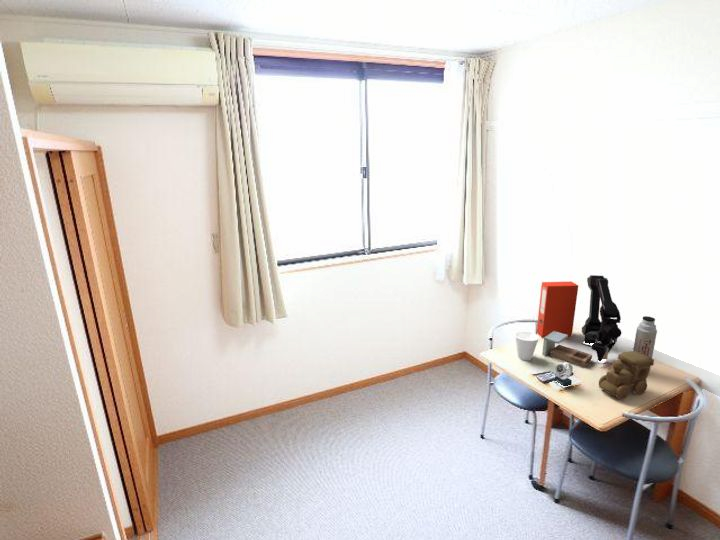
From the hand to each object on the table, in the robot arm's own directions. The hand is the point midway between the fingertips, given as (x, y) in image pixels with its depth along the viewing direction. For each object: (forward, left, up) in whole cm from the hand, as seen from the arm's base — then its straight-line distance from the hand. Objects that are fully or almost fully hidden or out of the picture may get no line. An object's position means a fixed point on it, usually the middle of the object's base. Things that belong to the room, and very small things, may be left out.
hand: (602, 357), depth 213 cm
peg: (0, 0, -2) cm, 2 cm away
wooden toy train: (+23, +16, -2) cm, 28 cm away
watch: (+36, -5, -2) cm, 36 cm away
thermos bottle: (-3, +16, -2) cm, 16 cm away
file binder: (-15, -31, -2) cm, 35 cm away
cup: (+23, -30, -2) cm, 38 cm away
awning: (+8, -21, -2) cm, 23 cm away
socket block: (+8, -12, -2) cm, 15 cm away
